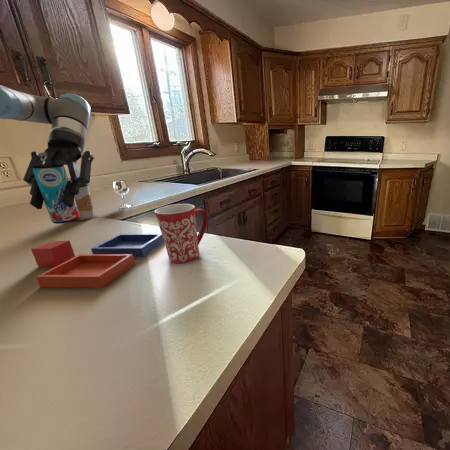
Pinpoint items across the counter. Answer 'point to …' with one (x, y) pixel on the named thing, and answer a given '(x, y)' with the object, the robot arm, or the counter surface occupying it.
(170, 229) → the mug
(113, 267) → the red tray
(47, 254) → the red block
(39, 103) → the robot arm
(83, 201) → the coffee cup
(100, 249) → the blue tray
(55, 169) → the beverage can
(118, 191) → the wineglass
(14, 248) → the counter surface
